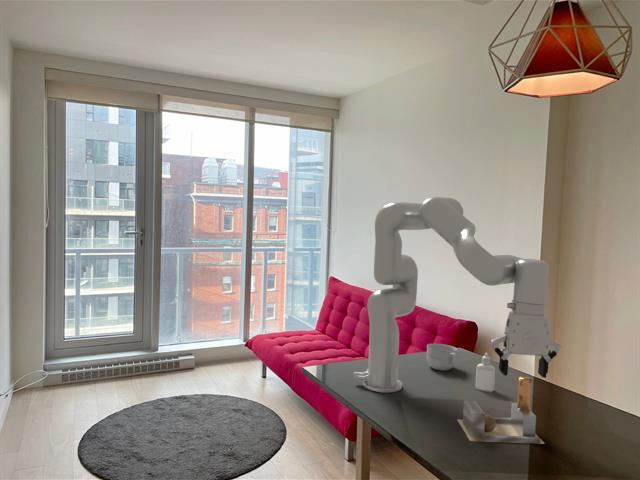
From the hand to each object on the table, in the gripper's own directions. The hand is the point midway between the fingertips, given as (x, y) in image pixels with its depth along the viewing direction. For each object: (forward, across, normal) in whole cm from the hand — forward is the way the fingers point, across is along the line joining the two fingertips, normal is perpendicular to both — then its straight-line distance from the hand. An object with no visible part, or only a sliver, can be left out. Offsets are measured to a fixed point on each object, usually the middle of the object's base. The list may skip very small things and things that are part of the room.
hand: (522, 374), depth 122 cm
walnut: (+15, -8, -1) cm, 17 cm away
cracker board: (+16, -5, -1) cm, 17 cm away
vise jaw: (+14, +1, -1) cm, 14 cm away
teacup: (+18, -7, +51) cm, 55 cm away
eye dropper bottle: (+17, +2, +32) cm, 36 cm away
